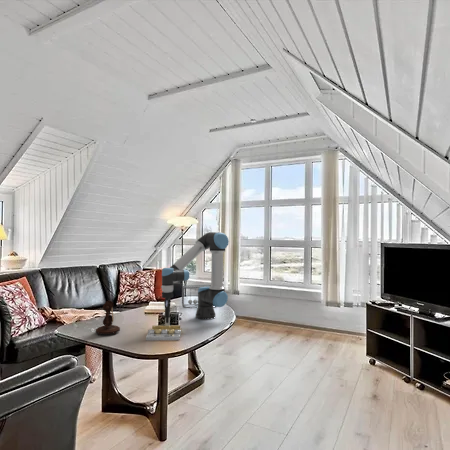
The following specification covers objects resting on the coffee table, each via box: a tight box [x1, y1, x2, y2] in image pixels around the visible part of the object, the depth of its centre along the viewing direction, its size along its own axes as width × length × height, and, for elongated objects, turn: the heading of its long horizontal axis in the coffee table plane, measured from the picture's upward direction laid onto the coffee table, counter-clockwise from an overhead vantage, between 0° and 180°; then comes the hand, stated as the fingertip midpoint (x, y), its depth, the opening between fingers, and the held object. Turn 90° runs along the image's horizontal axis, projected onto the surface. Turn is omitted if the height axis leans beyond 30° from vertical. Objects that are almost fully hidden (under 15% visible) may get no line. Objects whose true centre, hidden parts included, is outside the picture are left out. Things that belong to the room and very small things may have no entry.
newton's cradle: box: [181, 284, 211, 309], centre depth 307 cm, size 30×10×18 cm, turn 99°
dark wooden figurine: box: [95, 300, 121, 336], centre depth 226 cm, size 15×15×20 cm
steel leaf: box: [145, 329, 182, 341], centre depth 217 cm, size 20×11×4 cm, turn 92°
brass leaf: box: [149, 324, 183, 334], centre depth 225 cm, size 20×11×4 cm, turn 92°
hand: (167, 327), depth 233 cm, fingers closed
